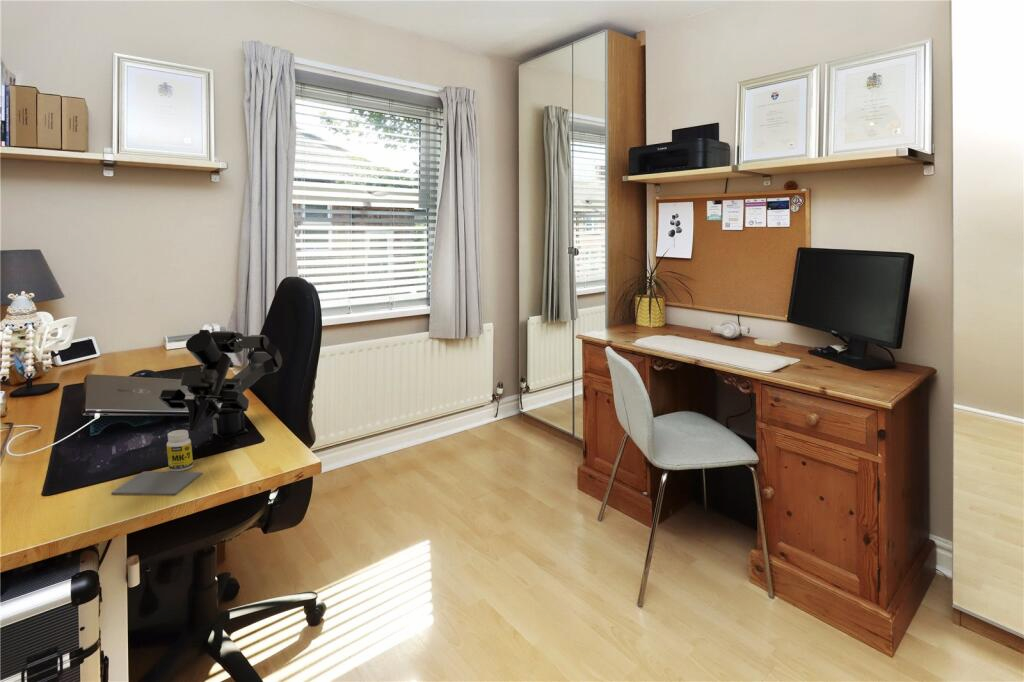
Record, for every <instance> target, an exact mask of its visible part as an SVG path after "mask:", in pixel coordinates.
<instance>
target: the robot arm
mask: <svg viewBox="0 0 1024 682" xmlns="http://www.w3.org/2000/svg"><path fill="white" fill-rule="evenodd" d="M185 347H186V349H187V350H188V352H189V353H190V354H191V355H192V356H193V358H195V360H196V361H197V362H198V363H200V364H201V365H202V368H201V370H200V371H182V374H181V375H182V376H181V380H180V386H181V387H183V386H185V387H187V390H188V392H183V391H182V390H181V389H180V388H164V389H163V390H161V392H160V394H159V397H158V399H159V401H161V402H162V403H163V404H164V405H166V406H167V407H168V408H170V409H172V410H175V409H176V410H183V409H185V408H187V410H188V419H189V420H188V421H189V422H188V424H189V431H190V433H196V432H197V431H198V430H199V429H200V428H201V427H202V426H203V425H204V424H206V423H207V421H208V420H210V419H212V427H213V429H212V432H213V434H215V435H217V436H218V437H220V438H222V439H226V438H230V437H234V436H237V435H241V434H244V433H248V432H249V431H248V429H246V428H245V416H244V412H247V411H248V409H249V405H250V404H249V403H250V401H249V398H248V397H247V396H246V395H245V394H244V392H245V391H247V390H248V389H249V388H250V387H251V386H253V385H254V384H255V383H256V382H257V381H258V380H259V379H261V377H264V375H267V374H273V373H276V372H277V371H279V370H280V368H281V367H282V365H283V357H282V355H281V353H280V350H279V348H278V347H277V346H275V345H274V344H273V343H272V342H270V340H269V338H268V336H266V335H264V334H251V335H244V333H241V332H239V331H234V330H232V331H231V330H230V331H229V330H228V331H226V330H224V331H223V330H221V331H220V330H218V331H217V330H214V331H210V330H209V329H199V331H198V333H195V334H194V335H192V336H191V337H189V339H186V342H185ZM245 349H248V353H247V355H246V358H247V360H248V365H247V366H245V367H244V368H242V369H241V370H240V371H239V372H237V373H236V374H235V375H233V377H230V378H229V377H228V378H227V374H228V372H229V368H231V369H232V368H233V369H234V365H235V364H234V362H233V360H232V357H230V356H229V355H228V354H239V353H240V352H242V351H244V350H245ZM255 349H256V350H257V349H259V350H262V349H263V351H254V350H255ZM189 392H190V393H189ZM191 392H192V393H191ZM213 416H214V417H213Z"/></svg>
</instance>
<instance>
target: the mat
mask: <svg viewBox="0 0 1024 682" xmlns="http://www.w3.org/2000/svg"><path fill="white" fill-rule="evenodd" d="M202 473H203V471H150V470H149V471H148V470H147V471H142V472H141V473H139V474H137V475H136V476H134V477H133V478H131V479H130V480H128V481H126V482H125V483H123V484H122V485H121V486H119V487H118V488H115V489H114V490H113V491H111V492H110V493H111V495H137V496H138V495H141V496H142V495H144V496H146V495H149V496H151V495H153V496H157V495H158V496H176V495H177V494H179V493H180V492H181V491H183V490H184V489H185V488H186V487H188V486H189V485H190V484H191V482H192V483H193V482H194V481H195V480H196V478H197V477H198V478H199V477H201V476H202V475H203V474H202ZM201 474H202V475H201ZM198 478H197V479H198Z"/></svg>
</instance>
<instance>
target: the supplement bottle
mask: <svg viewBox="0 0 1024 682" xmlns="http://www.w3.org/2000/svg"><path fill="white" fill-rule="evenodd" d="M189 436H190V433H189V431H188V430H187V429H177V430H176V429H175V430H172V431H170V432H168V433H167V440H168V441H167V443H166V452H167V455H166V456H167V464H168V470H169V471H170V472H184V471H186V470H189V469H191V468H193V466H194V459H193V448H192V440H191V438H190V437H189Z"/></svg>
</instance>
